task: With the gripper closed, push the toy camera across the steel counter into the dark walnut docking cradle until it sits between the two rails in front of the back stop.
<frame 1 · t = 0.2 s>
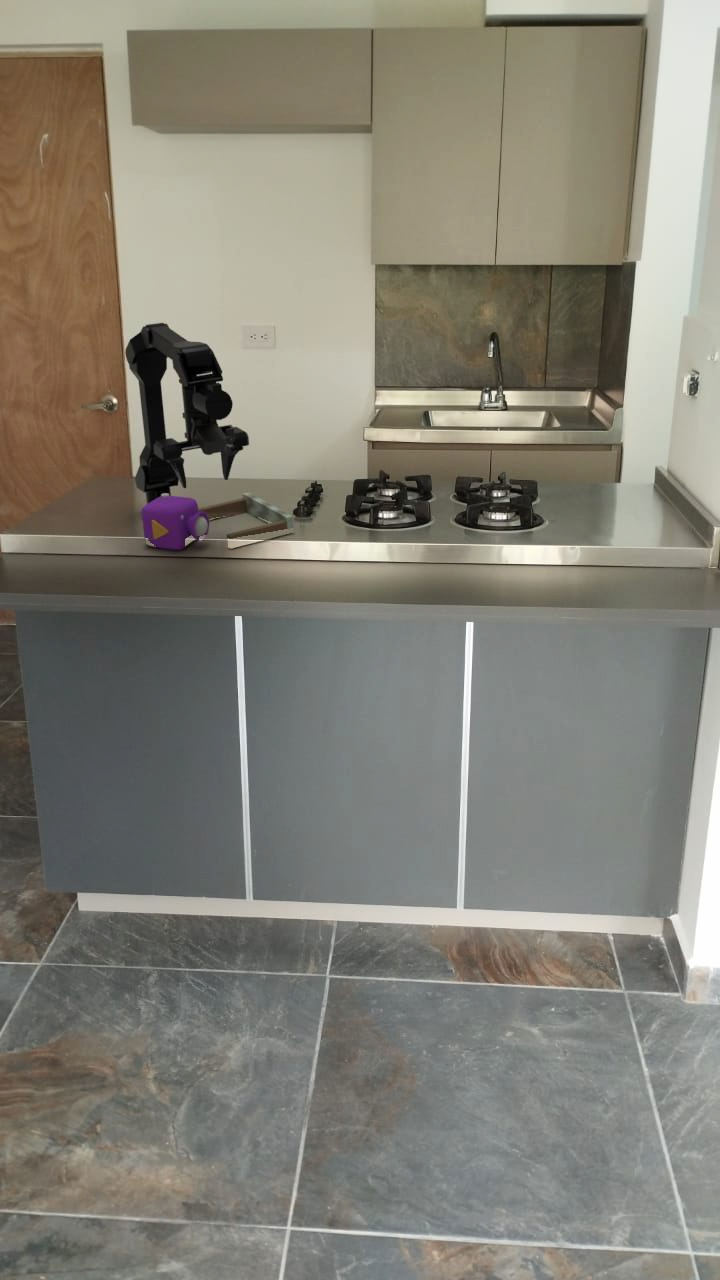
hand: (205, 483, 223), 14 cm above the table, fingers open, 9 cm apart
toy camera: (180, 544, 233), on the table
walnut dock: (241, 528, 240), on the table
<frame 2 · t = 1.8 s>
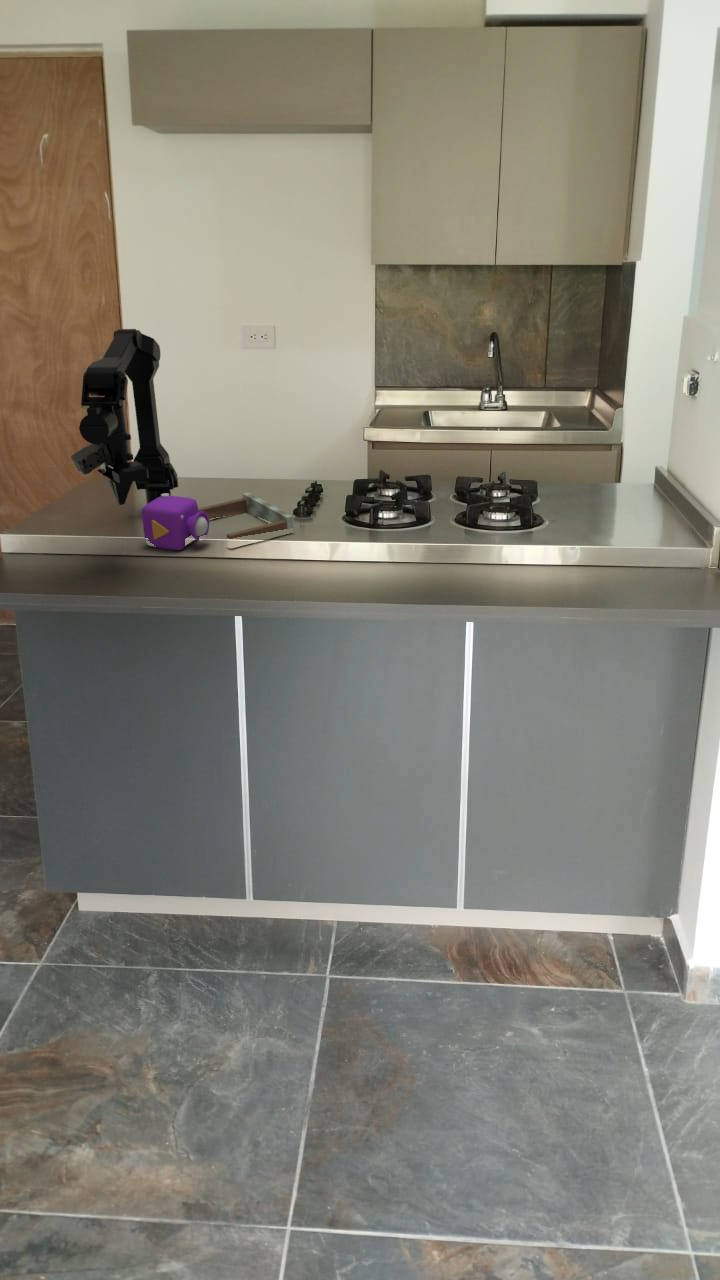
hand: (121, 504, 222), 12 cm above the table, fingers closed
nothing on the table moved.
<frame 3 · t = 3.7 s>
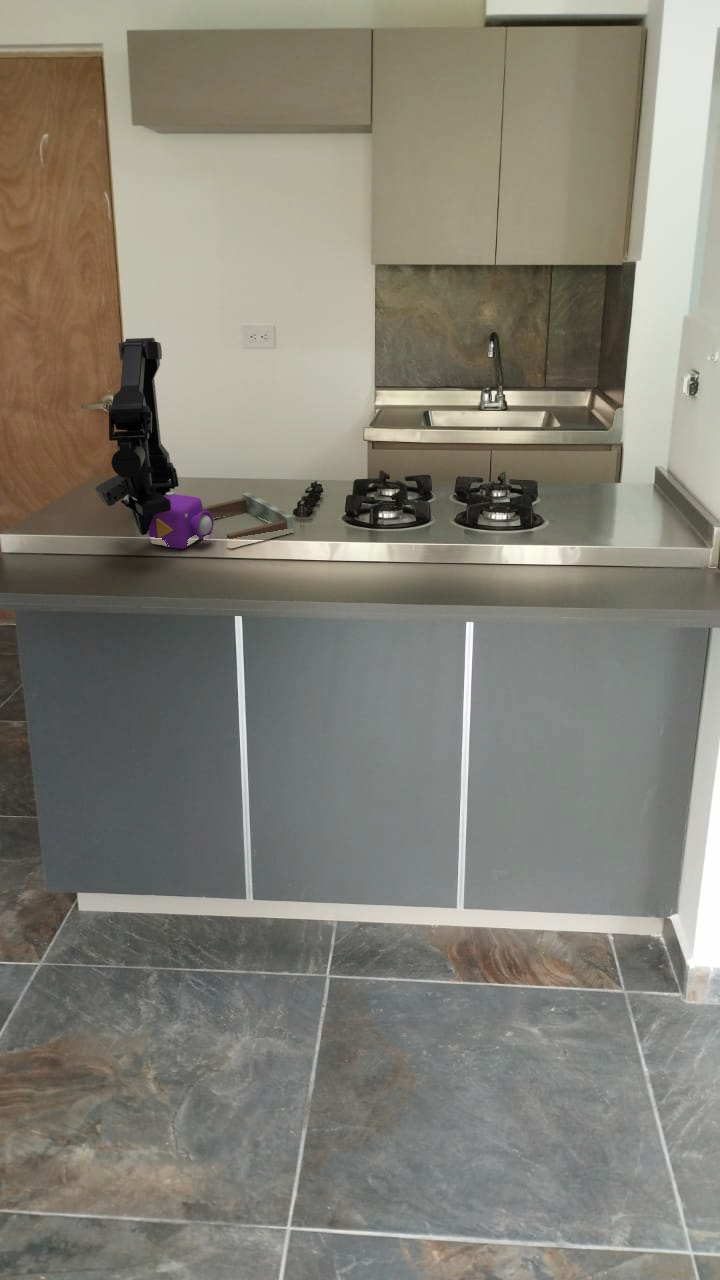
hand: (143, 534, 227), 4 cm above the table, fingers closed
toy camera: (184, 543, 233), on the table, touching gripper
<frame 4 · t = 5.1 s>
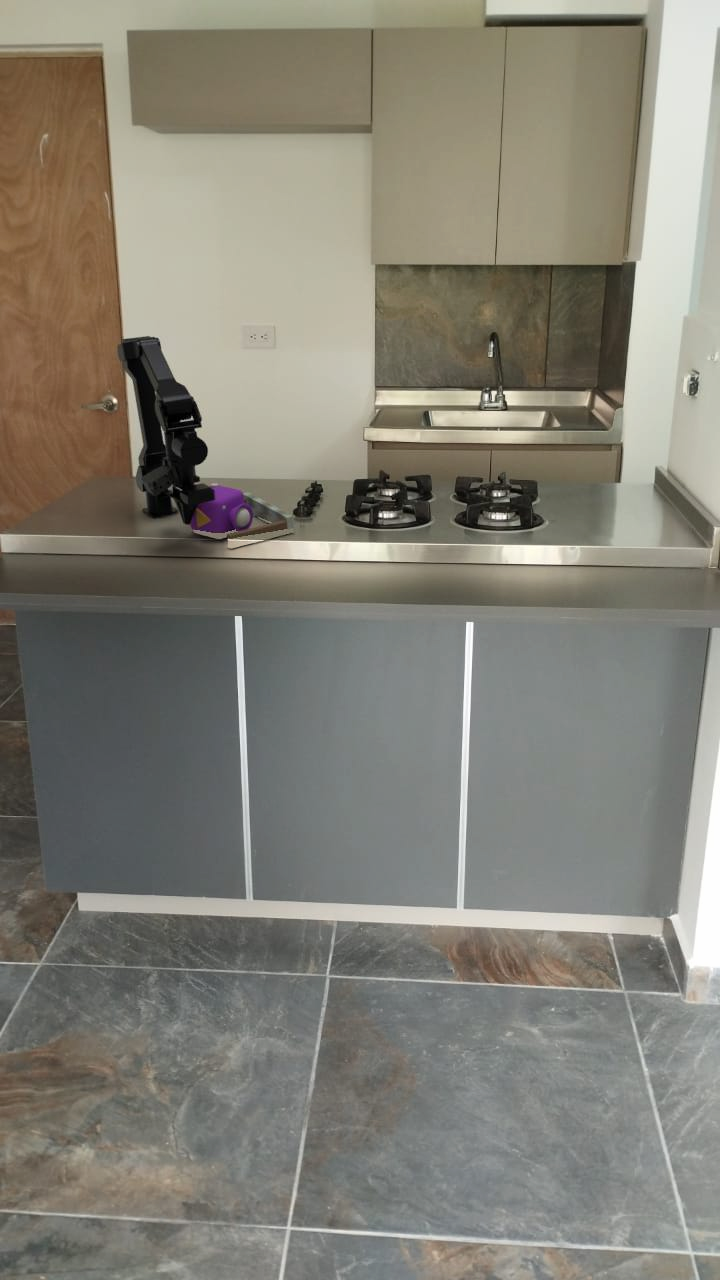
hand: (186, 523, 232), 4 cm above the table, fingers closed
toy camera: (225, 534, 237), on the table, touching gripper
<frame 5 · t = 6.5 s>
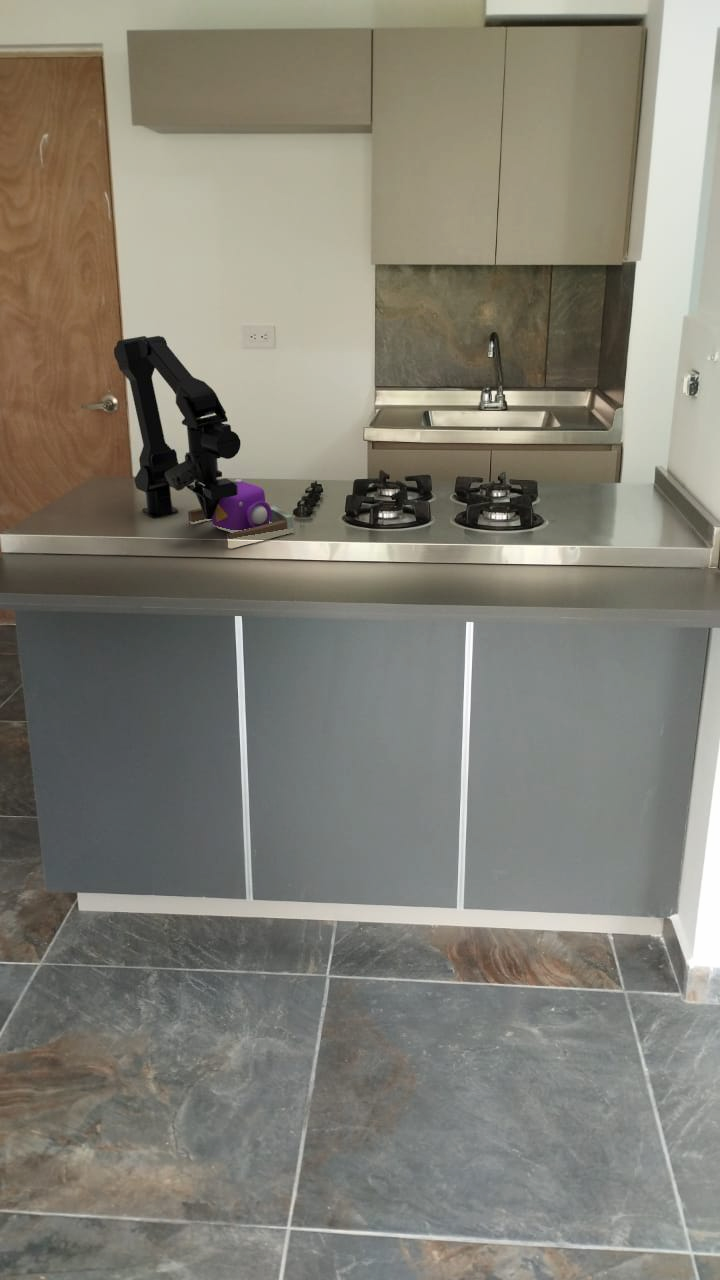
hand: (208, 518, 235), 4 cm above the table, fingers closed
toy camera: (245, 530, 239), on the table, touching gripper
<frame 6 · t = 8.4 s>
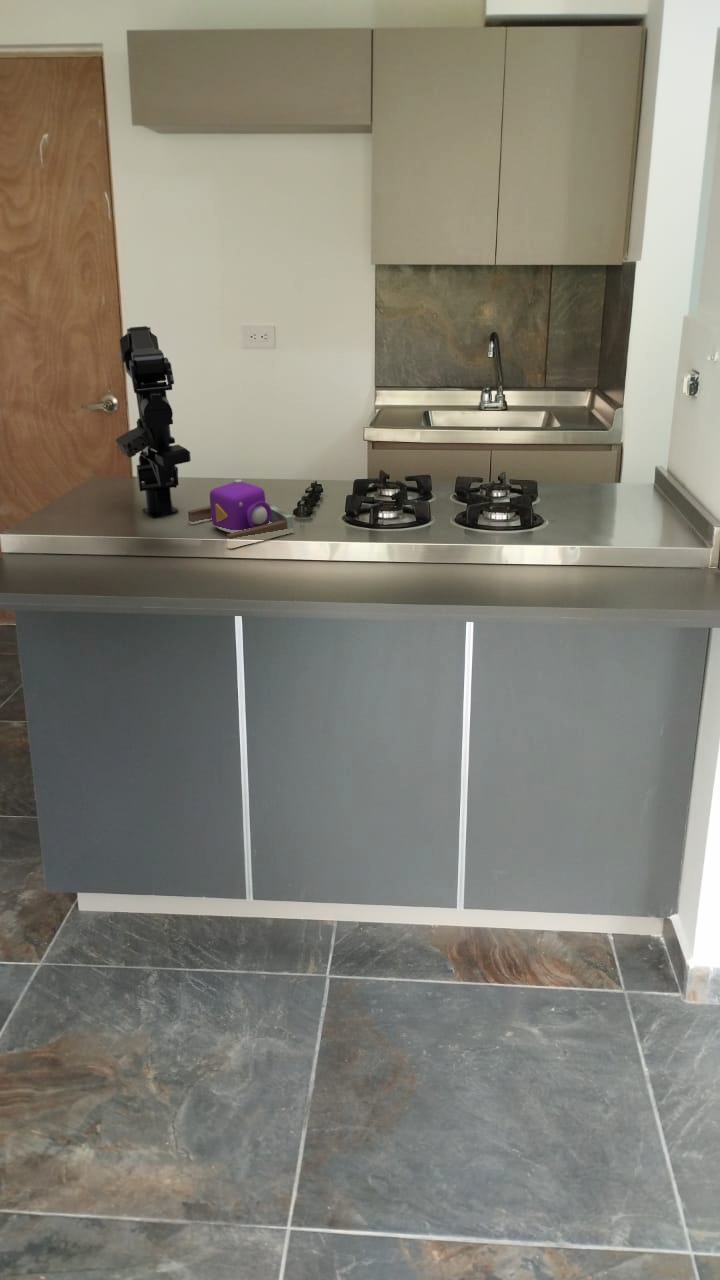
hand: (162, 485, 232), 12 cm above the table, fingers closed
toy camera: (245, 530, 239), on the table
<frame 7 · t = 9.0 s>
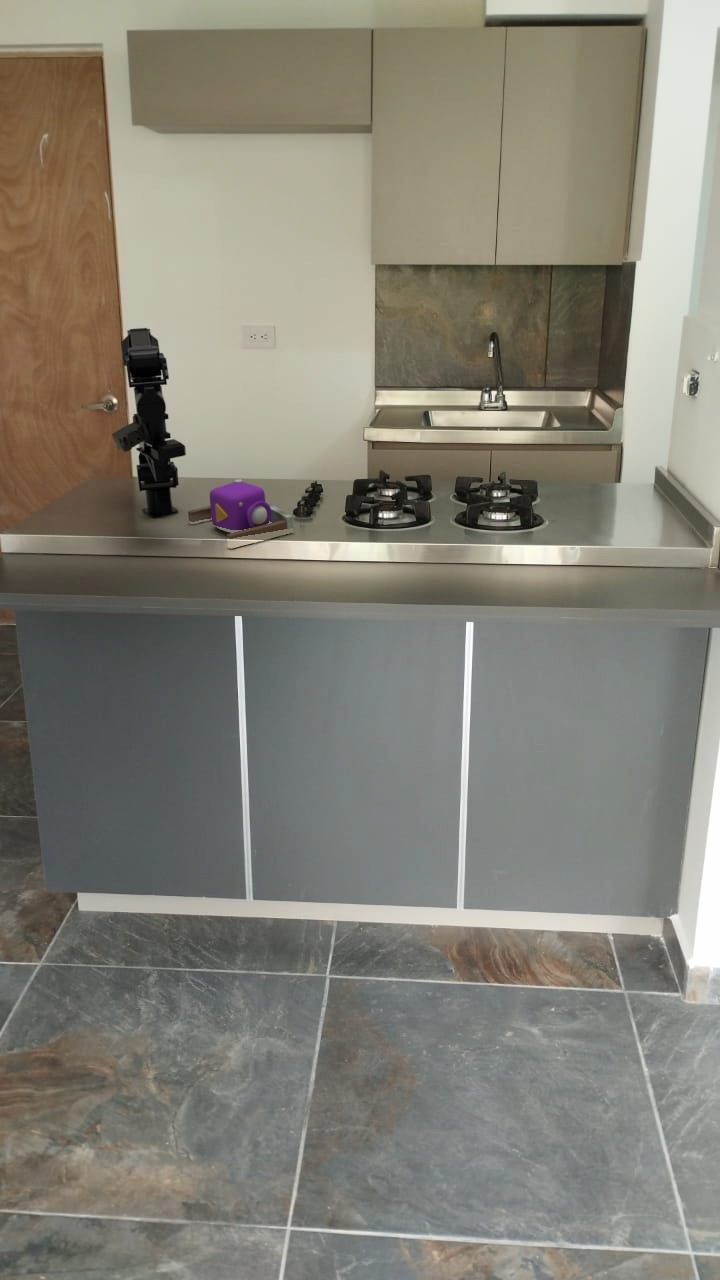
hand: (158, 480, 233), 12 cm above the table, fingers closed
nothing on the table moved.
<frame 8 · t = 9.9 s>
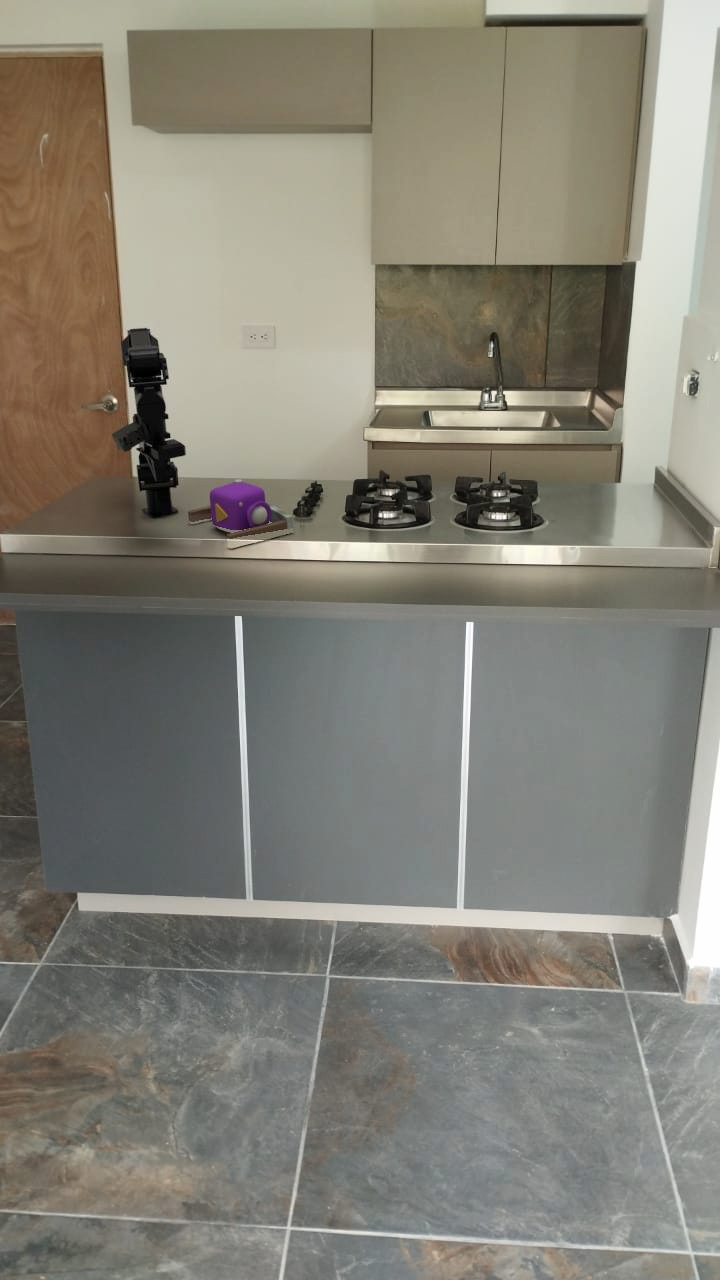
hand: (158, 480, 233), 12 cm above the table, fingers closed
nothing on the table moved.
at the end: toy camera inside the target area (1.4 cm from its centre), on the table; toy camera tilted 0°; toy camera moved 15.2 cm from its start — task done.
